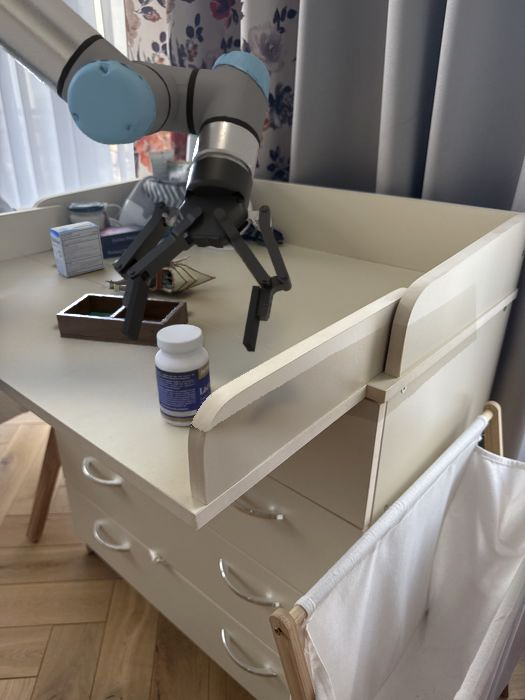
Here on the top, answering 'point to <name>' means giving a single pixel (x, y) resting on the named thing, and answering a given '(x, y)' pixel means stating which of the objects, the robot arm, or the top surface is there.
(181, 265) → the figurine
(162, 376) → the pill bottle
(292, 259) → the top surface
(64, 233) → the medicine box
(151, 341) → the tray
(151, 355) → the top surface
